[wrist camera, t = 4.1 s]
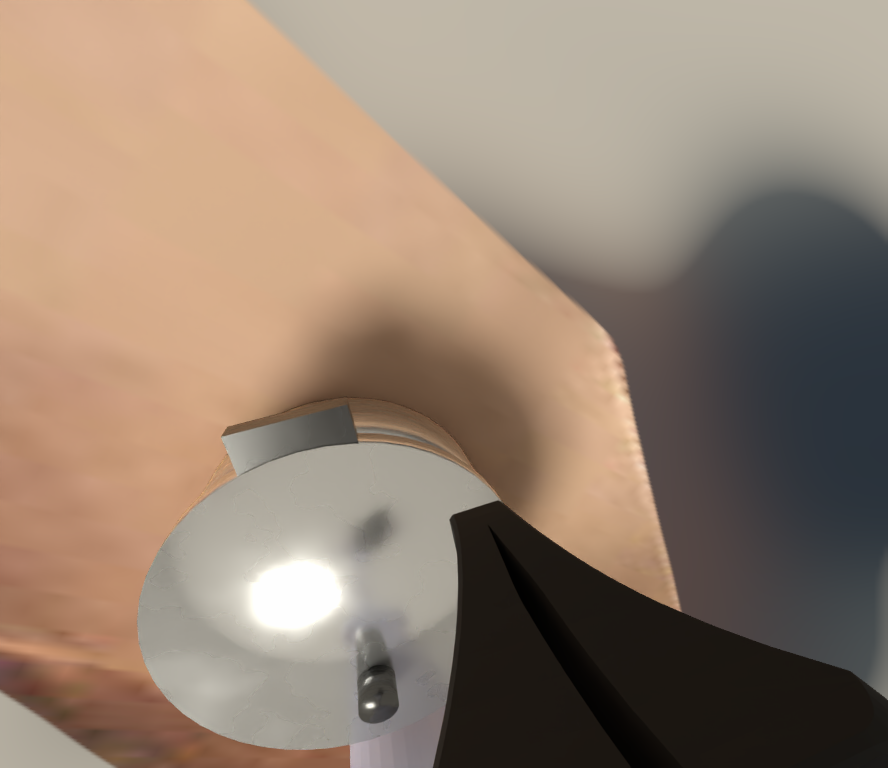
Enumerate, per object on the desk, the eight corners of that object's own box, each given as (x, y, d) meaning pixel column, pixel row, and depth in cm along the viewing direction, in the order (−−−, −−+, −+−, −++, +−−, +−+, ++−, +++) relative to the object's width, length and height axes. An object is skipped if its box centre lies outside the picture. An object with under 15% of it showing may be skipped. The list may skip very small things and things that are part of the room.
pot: (496, 592, 25) (527, 659, 21) (262, 674, 23) (244, 768, 19) (455, 366, 20) (485, 396, 16) (148, 444, 18) (89, 503, 14)
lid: (533, 654, 21) (554, 698, 19) (233, 769, 18) (219, 834, 16) (488, 359, 15) (511, 376, 13) (52, 470, 13) (-2, 511, 11)
